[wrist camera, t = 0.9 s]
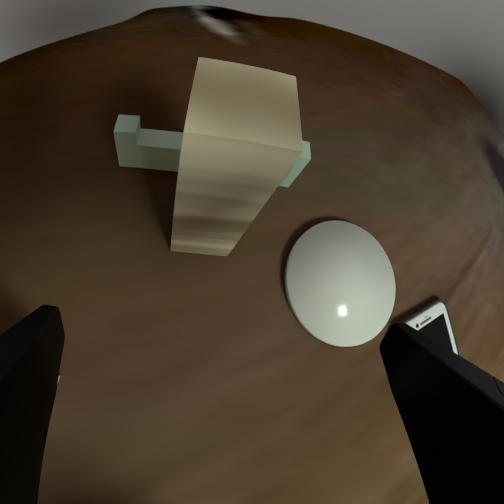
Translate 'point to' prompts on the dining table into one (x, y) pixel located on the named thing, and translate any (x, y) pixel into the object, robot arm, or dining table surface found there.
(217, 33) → the dining table surface
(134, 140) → the fence
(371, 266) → the coaster
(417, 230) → the dining table surface
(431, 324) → the cell phone
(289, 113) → the beech block
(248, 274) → the dining table surface
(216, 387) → the dining table surface
